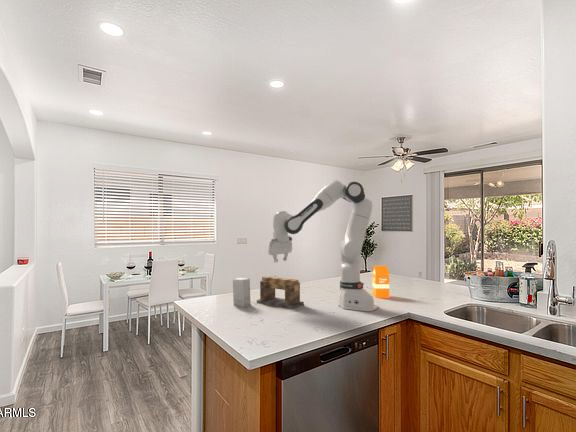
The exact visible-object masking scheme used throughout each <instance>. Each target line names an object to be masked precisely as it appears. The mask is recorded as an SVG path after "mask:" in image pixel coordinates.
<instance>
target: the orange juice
mask: <svg viewBox="0 0 576 432" xmlns="http://www.w3.org/2000/svg"><path fill="white" fill-rule="evenodd" d="M372 297H373V298H376V299H389V298H390V274H389V269H388V265H373V270H372Z"/></svg>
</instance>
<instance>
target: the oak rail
mask: <svg viewBox="0 0 576 432" xmlns="http://www.w3.org/2000/svg"><path fill="white" fill-rule="evenodd" d="M261 281H268V288H274V289H275V290H282V291H285V284H292V285H293V291H298V290H299V282H300V280H299V279H294V278H286V277H285V278H284V277H276V276H268V275H265V276H261Z"/></svg>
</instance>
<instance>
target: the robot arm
mask: <svg viewBox="0 0 576 432" xmlns="http://www.w3.org/2000/svg"><path fill="white" fill-rule="evenodd" d="M364 189H365V188H364V187H363V185H362V184H361V183H360V182H358V181H351V182H349V183H347V184H343V183H342V182H341V181H339V180H337V179H336V180H335V179H334V180H332V181H330V182H328V184H326V185H325V186H323V187H322V188H321V189H320V190H319V191H318V192H317V193H316V194H315V195H314V197H313V198H312V199H311V201H310V202H309V204H307V206H305V207H304V208H303V209H302V210H301V211H299V212H298V213H297V214H295V215H292V214H290V213H288V212H287V211H284V210H283V211H277V212H276V213H274V214H273V220H272V228H273V233H272V239H270V240H269V245H268V255H269V256H272V258H273V261H274V263H279V259H278V255H283V256H284V257H283V258H282V261H284V262H286V261H288V259H287V258H288V255H289V253H292V251H293V242H292V241H293V237H292V236H290V235H296V234H299V232H301V231H302V229H303V227H304V224H305V223H306V222H307V221H308V220H310V219H311V218H312V217H313V216H314V215H315V214H317V213H319V212H322V211H324V210H326V209H328V208H330V207H331V206H332V205H333V204H334V203H335V202H337V201H338V200H339V199H343V200H344V201H347V202H349V203H352V205H353V206H352V211H351V212H350V216H349V219H348V222H347V226H346V229H345V230H346V231H345V234H344V238H343V239H342V240H341V242H340V244H339V258H340V259H339V262H340V280H339V281H340V282H339V290H340V291H339V293H340V294H339V299H338V300H339V301H338V303H337V306H339V307H341V308H342V310H343V309H344V310H352V311H361V312H374V311H375V310H377V309H378V308H379V305H378V304H377V303H375V299H374V296H373V294H371V293H370V292H368V291H367V290H366V289H365V288H364V286H365V282H362V281H361V265H360V257H359V256H360V255H361V252H362V249H363V246H364V245H363V244H364V240H365V235H366V232H367V228H368V225H369V222H370V219H371V215H372V211H373V202H372V200H370V199H369V198H367V197H366V194H365V190H364ZM289 234H290V235H289Z"/></svg>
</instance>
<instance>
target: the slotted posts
mask: <svg viewBox="0 0 576 432" xmlns="http://www.w3.org/2000/svg"><path fill="white" fill-rule="evenodd" d="M259 282H260V283H259V284H260V285H259V290H260V291H259V294H260V295H259V296H260V299H256V303H257V304H262V305H268V306H273V307H279V308H285V309H289V310H290V309H291V310H294V309H297V308H298V307H301V306H304V305H305V304H304V303H305V302H304V301H301V282H300V281H299V290H298V291H293V285H292V284H285V290H284V298H281V297H277V296H276V289H274V288H268V281H262V280H260V281H259Z"/></svg>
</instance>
